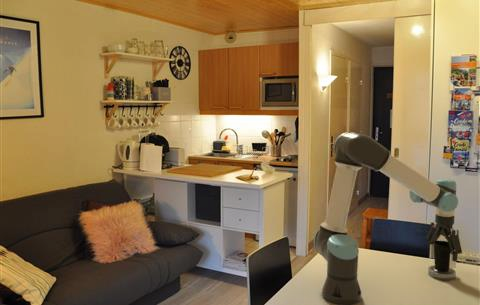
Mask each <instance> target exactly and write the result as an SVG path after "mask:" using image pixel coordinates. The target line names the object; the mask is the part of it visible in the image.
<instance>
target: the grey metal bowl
mask: <svg viewBox="0 0 480 305" xmlns="http://www.w3.org/2000/svg"><path fill="white" fill-rule="evenodd" d="M427 271H428V272H427V275H428V276H429V277H431V278H433V279H436V280H438V281H445V282H446V281H447V282H448V281H449V282H450V281H454V280H455V279H456V276H457V275H456V274H457V272H456V270H455V268H449V271H448V272H440V271H437V270H435V264H434V265H430V266H429V267H428V269H427Z"/></svg>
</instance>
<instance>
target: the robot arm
mask: <svg viewBox="0 0 480 305" xmlns="http://www.w3.org/2000/svg"><path fill="white" fill-rule="evenodd" d="M333 143H334V144H333V150H334V153H335V156H334V160H333V162H334V164H335V166H336V169H335V173H334V174H335V175H334V179H333V183H332V187H331V191H330V197H329V201H328V206H327V211H326V215H325V219H324V221H323V222H321V223H320V225H319V229H318V230H317V231H316V232H315V233H314V236H313V245H314V248H315V249H316V251H317V252H318V254H319V256H322V257H323V259H324V260H325V261H326V263H327V264H326V265H327V266H326V278H325V280H324V283H323V286H322V288H321V290H322V291H321V295H322V297H323V299H324V300H326V301H328V302H329V303H333V304H336V305H354V304H357V303H359V302H361V300H362V290H361V286H360V283H359V280H358V271H359V270H358V268H359V266H358V265H359V264H358V263H359V251H360V250H359V244H358V241H357V240H356V239H355V238H354V237H352V236H349V235H348V233H349V230H348V228H347V227H346V226H347V220H348V215H349V210H350V207H351V206H350V205H351V202H352V198H353V192H354V189H355V183H356V181H357V180H356V179H357V175H358V171H359V170H361V169H362V168H363V166H365V167H367V168H369V169H371V170H373V171H375V172H379V171H380V172H381V173H382V174H384V175H385V176H386V177H388V178H390V179H392V180H393V181H394V182H396V183H398V184H399V185H401V186H402V187H404V188H406V189H407V190H409V198H410V200H411V202H413V203H418V204H420V203H423V204H427V205H429V206H432V207H434V208H435V220H434V222H430V228H429V230H428V234H427V235H426V239H425V242H428V244H429V259H434V244H433V242H434V241H438V240H439V239H440V237H441V236H443V237H444V239H446V241H447V242H448V244H449V247H450V249H451V252H452V253H450V266H449V268H452V269H456V268H457V261H458V255H461V254H463V251H462V250H463V249H462V246H461V240H460V236H459V234H460V233H459V229H454V228H453V225H454V224H455V213H456V208H457V207H458V205H459V198H458V197H457V182H456V181H455V180H453V179H450V178H439V179H437V181H436V183H434V181H431V180H430V179H428V178H427V177H425V176H424V175H423V174H421V173H420V172H418V171H416V170H415V169H413V168H412V167H410V166H408V165H407V164H406V163H405V162H403V161H401V160H399V159H398V158H396V157H395V156H394V155H392V154H391V150H389V149H388V148H386V147H384V145H382V144H381V143H379V142H378V141H376V139H374V138H372V137H370V135H367V134H364V133H357V132H354V131H353V132H352V131H350V132H349V131H348V132H343V133H341V134H340V135H338V136H337V138H335V140H334V142H333Z"/></svg>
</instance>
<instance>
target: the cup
mask: <svg viewBox="0 0 480 305" xmlns="http://www.w3.org/2000/svg"><path fill="white" fill-rule="evenodd" d="M433 244H434V258H433V259H434V265H435V270H437V271H440V272H448V271H449V266H450V253H452V252H451V249H450V247H449V244H448V241H447V240H437V241H434V242H433Z"/></svg>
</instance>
